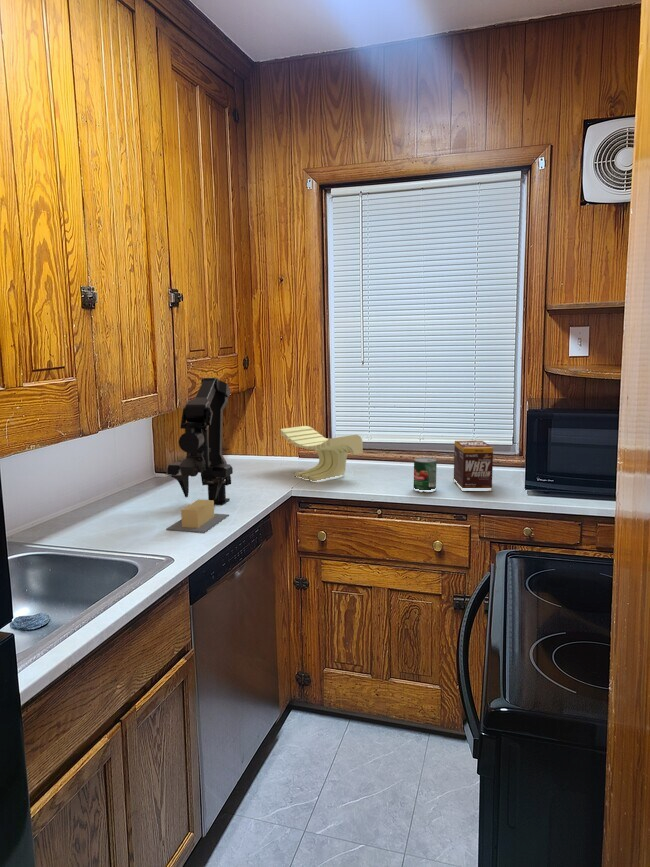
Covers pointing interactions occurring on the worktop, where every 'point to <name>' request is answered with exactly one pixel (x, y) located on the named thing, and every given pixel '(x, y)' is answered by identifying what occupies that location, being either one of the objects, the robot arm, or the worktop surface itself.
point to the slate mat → (202, 528)
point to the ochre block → (197, 513)
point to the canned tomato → (425, 473)
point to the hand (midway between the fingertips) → (200, 497)
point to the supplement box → (473, 464)
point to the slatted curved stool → (324, 451)
